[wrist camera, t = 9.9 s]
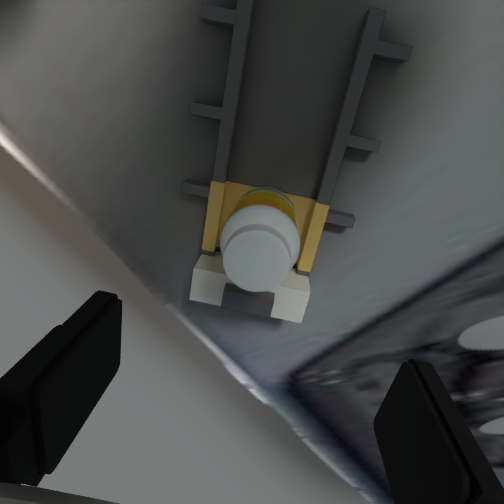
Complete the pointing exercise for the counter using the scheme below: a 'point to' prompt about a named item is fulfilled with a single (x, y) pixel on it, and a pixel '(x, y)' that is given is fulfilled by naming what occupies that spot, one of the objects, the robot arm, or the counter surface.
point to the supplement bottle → (260, 240)
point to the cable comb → (308, 210)
